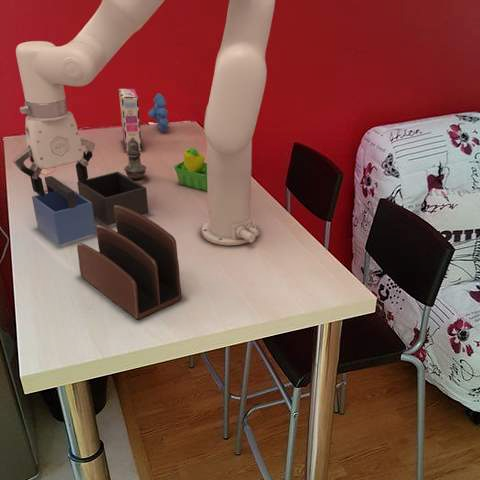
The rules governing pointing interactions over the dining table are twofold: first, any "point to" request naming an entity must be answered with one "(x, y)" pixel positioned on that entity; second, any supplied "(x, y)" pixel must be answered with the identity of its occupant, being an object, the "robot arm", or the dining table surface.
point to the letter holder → (133, 264)
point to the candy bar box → (130, 116)
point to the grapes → (160, 112)
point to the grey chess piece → (134, 161)
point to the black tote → (113, 195)
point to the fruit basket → (192, 170)
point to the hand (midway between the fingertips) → (62, 188)
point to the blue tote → (63, 213)
